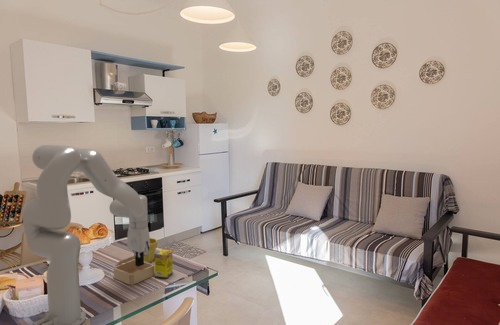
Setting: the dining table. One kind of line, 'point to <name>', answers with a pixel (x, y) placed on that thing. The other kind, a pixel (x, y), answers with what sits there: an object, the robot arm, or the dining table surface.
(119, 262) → the flap
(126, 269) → the carton
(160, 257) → the supplement box
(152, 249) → the plant pot
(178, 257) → the dining table surface
